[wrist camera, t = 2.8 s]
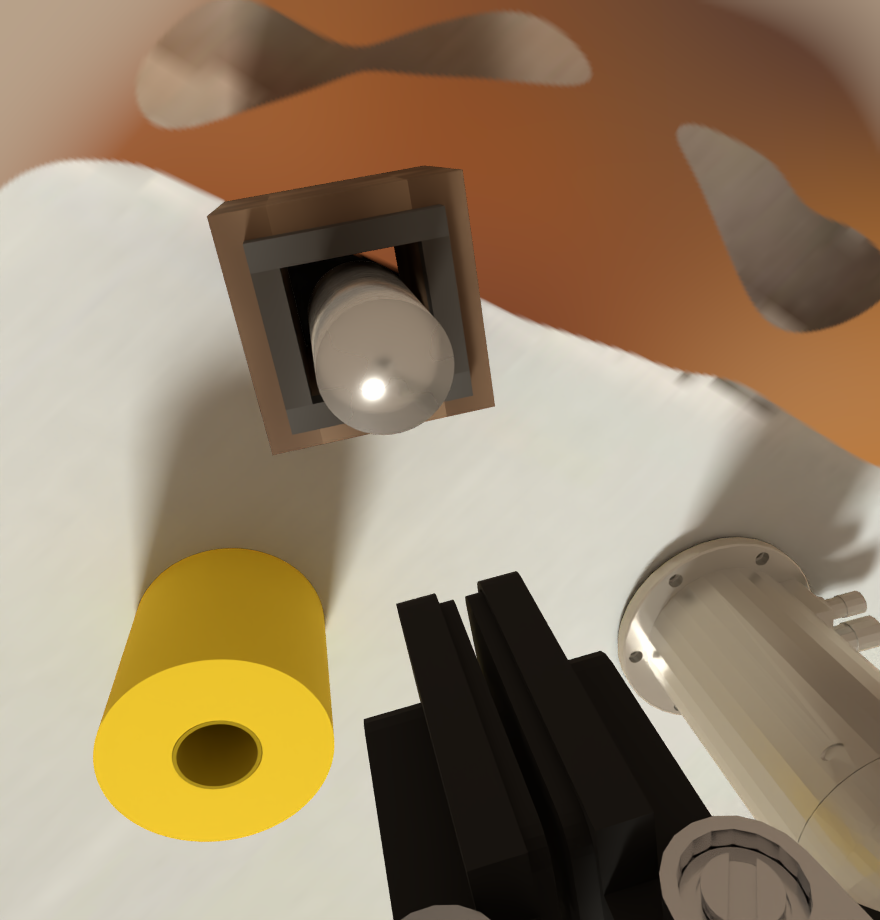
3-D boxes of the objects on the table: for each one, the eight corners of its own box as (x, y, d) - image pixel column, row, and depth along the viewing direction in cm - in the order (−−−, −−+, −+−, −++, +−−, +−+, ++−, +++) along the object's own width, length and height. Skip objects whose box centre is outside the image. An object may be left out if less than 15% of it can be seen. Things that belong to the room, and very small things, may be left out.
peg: (402, 251, 28) (442, 286, 21) (420, 353, 30) (463, 418, 22) (296, 271, 28) (300, 314, 20) (320, 373, 29) (332, 447, 22)
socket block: (424, 165, 34) (468, 170, 25) (454, 356, 37) (501, 414, 29) (224, 201, 33) (204, 218, 24) (275, 394, 36) (272, 465, 28)
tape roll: (194, 516, 38) (167, 622, 29) (358, 597, 42) (377, 713, 33) (100, 661, 40) (49, 799, 31) (265, 726, 44) (259, 866, 35)
